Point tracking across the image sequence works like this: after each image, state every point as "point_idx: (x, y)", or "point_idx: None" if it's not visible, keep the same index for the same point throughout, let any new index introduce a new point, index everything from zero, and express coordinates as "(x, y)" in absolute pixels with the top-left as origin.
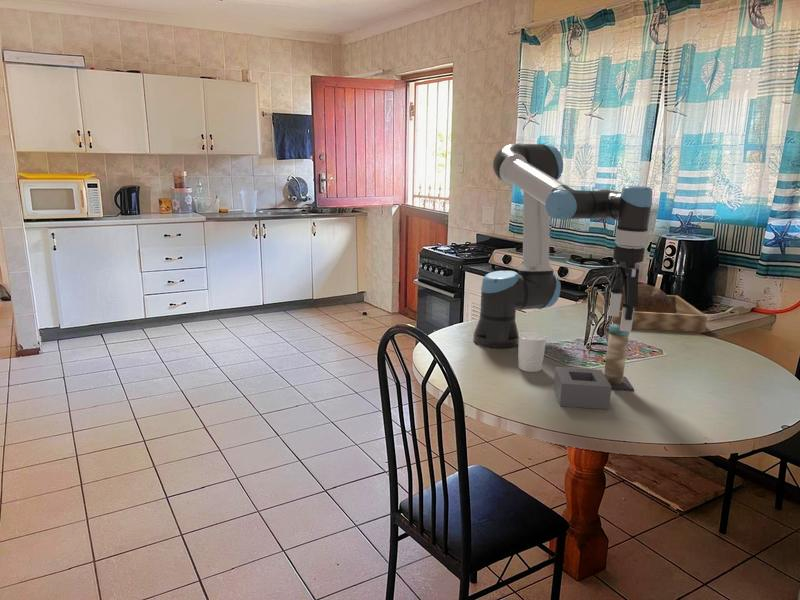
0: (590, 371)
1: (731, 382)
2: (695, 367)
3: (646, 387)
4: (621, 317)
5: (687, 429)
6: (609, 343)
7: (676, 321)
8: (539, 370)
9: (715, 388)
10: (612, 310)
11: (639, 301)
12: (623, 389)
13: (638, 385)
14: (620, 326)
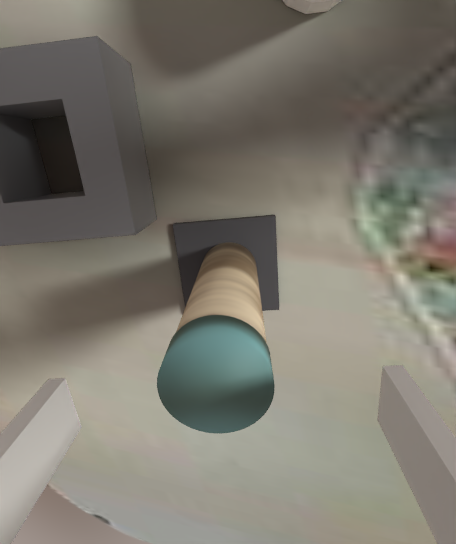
0: (100, 192)
1: (308, 512)
2: (400, 477)
3: None
4: (4, 450)
5: (3, 376)
6: (202, 296)
7: None
8: (284, 2)
9: (261, 477)
10: (401, 416)
11: None
12: (183, 288)
13: None
14: (42, 396)
